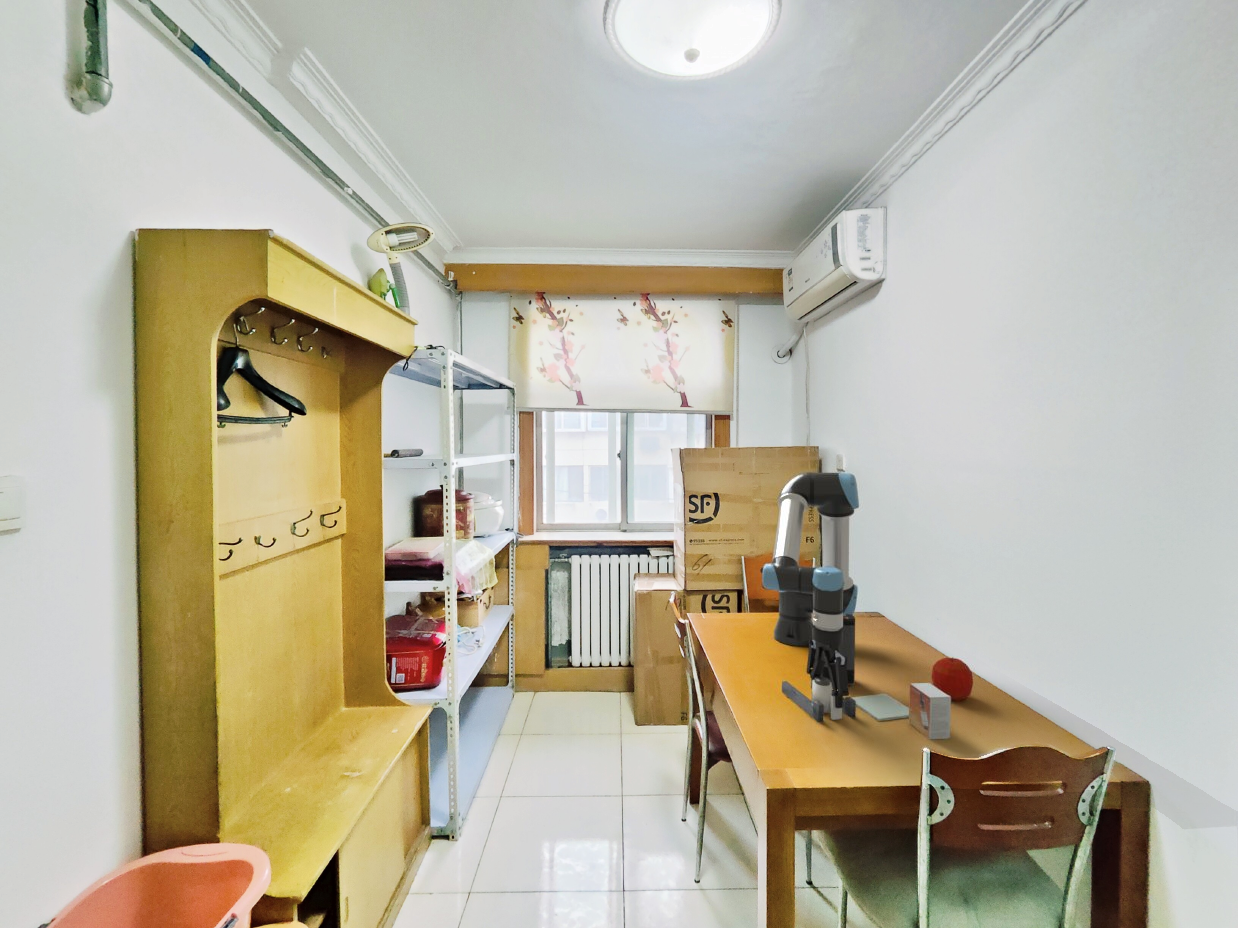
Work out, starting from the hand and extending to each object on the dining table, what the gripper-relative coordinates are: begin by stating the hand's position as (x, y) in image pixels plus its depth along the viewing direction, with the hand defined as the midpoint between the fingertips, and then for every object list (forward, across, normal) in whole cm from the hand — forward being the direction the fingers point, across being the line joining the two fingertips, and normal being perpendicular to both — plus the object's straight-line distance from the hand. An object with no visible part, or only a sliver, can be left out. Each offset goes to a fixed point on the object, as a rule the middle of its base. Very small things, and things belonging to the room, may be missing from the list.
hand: (826, 710), depth 144 cm
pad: (0, +2, +16) cm, 16 cm away
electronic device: (0, -16, +15) cm, 22 cm away
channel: (0, -4, 0) cm, 5 cm away
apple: (0, 0, +40) cm, 40 cm away
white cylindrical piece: (0, -2, 0) cm, 2 cm away
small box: (+1, +14, +19) cm, 24 cm away
